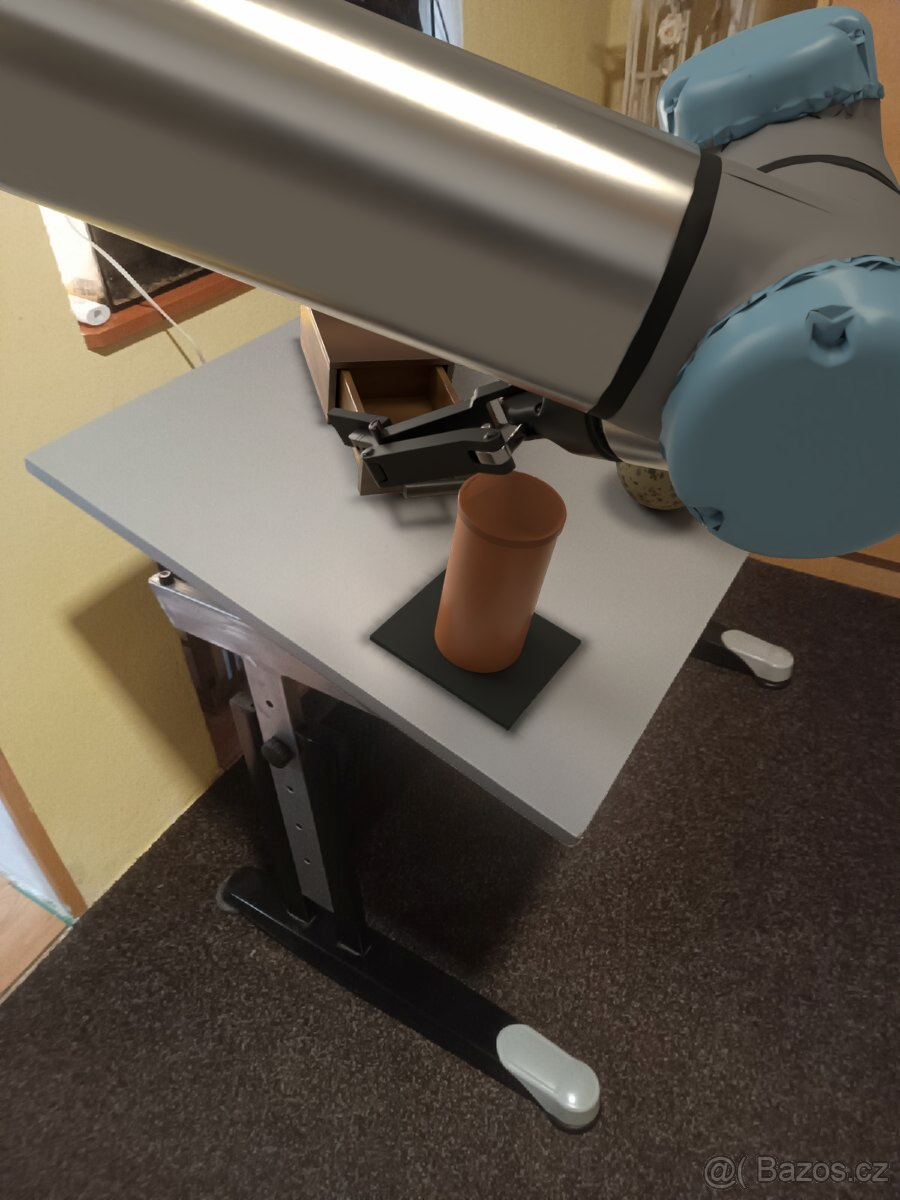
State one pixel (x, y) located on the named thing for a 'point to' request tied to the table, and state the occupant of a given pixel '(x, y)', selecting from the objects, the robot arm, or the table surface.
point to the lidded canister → (496, 568)
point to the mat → (485, 692)
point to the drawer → (397, 412)
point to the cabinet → (352, 352)
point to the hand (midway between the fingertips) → (403, 370)
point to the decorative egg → (648, 486)
